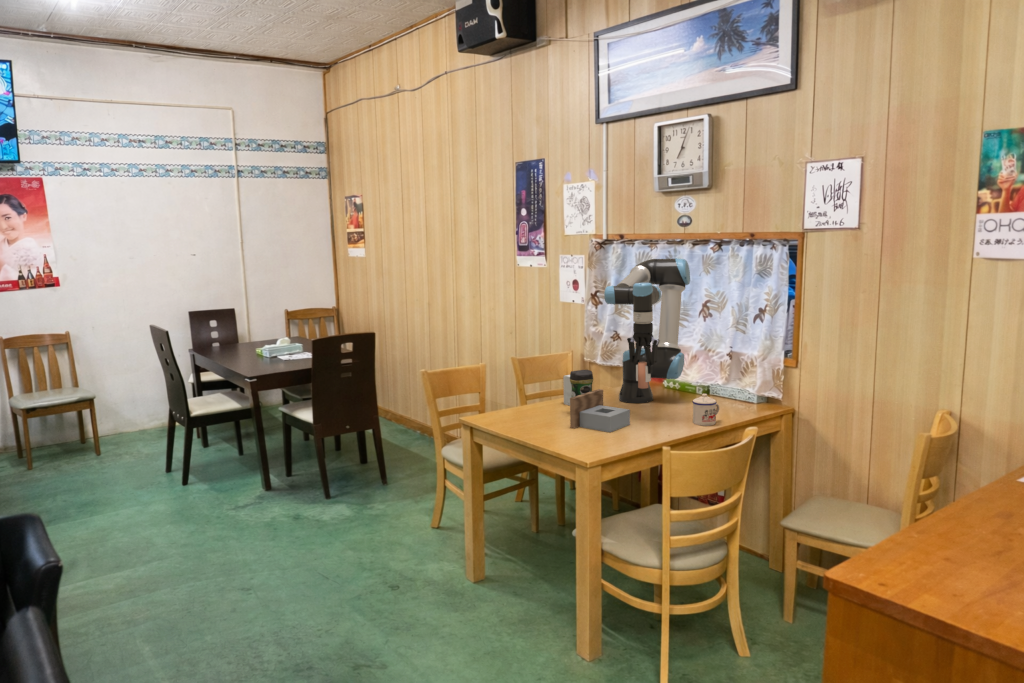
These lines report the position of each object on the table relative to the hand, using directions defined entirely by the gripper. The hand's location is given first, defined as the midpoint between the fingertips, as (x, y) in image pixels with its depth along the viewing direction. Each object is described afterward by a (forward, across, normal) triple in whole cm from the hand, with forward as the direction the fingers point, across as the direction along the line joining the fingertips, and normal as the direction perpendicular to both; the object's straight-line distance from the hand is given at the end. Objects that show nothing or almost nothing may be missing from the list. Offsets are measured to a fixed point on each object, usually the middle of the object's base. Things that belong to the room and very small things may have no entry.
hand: (643, 380), depth 285 cm
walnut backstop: (+16, -16, -16) cm, 28 cm away
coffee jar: (+16, -27, -4) cm, 32 cm away
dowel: (+3, 0, 0) cm, 3 cm away
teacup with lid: (+16, +22, +10) cm, 29 cm away
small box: (+17, -40, +8) cm, 44 cm away
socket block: (+16, -8, -16) cm, 24 cm away
